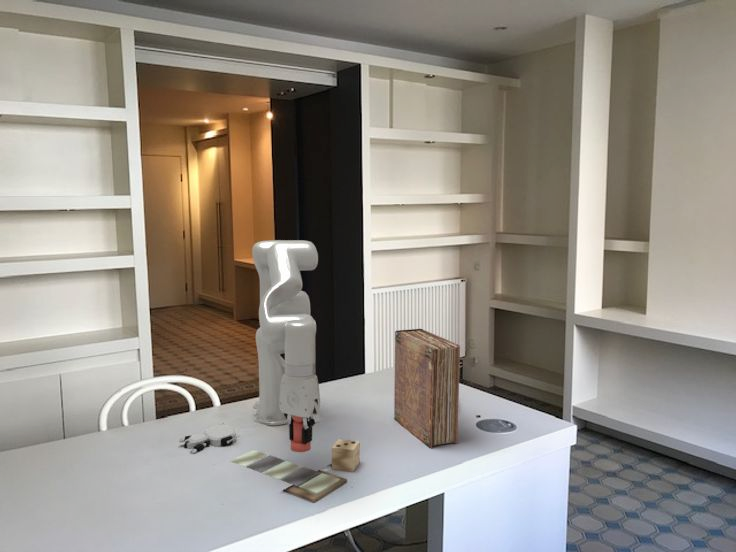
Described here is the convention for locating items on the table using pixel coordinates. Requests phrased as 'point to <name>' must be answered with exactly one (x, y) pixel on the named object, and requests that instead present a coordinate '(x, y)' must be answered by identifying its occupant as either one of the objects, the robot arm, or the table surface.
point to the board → (293, 475)
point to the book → (427, 386)
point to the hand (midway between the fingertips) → (300, 439)
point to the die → (345, 455)
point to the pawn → (298, 436)
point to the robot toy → (210, 438)
